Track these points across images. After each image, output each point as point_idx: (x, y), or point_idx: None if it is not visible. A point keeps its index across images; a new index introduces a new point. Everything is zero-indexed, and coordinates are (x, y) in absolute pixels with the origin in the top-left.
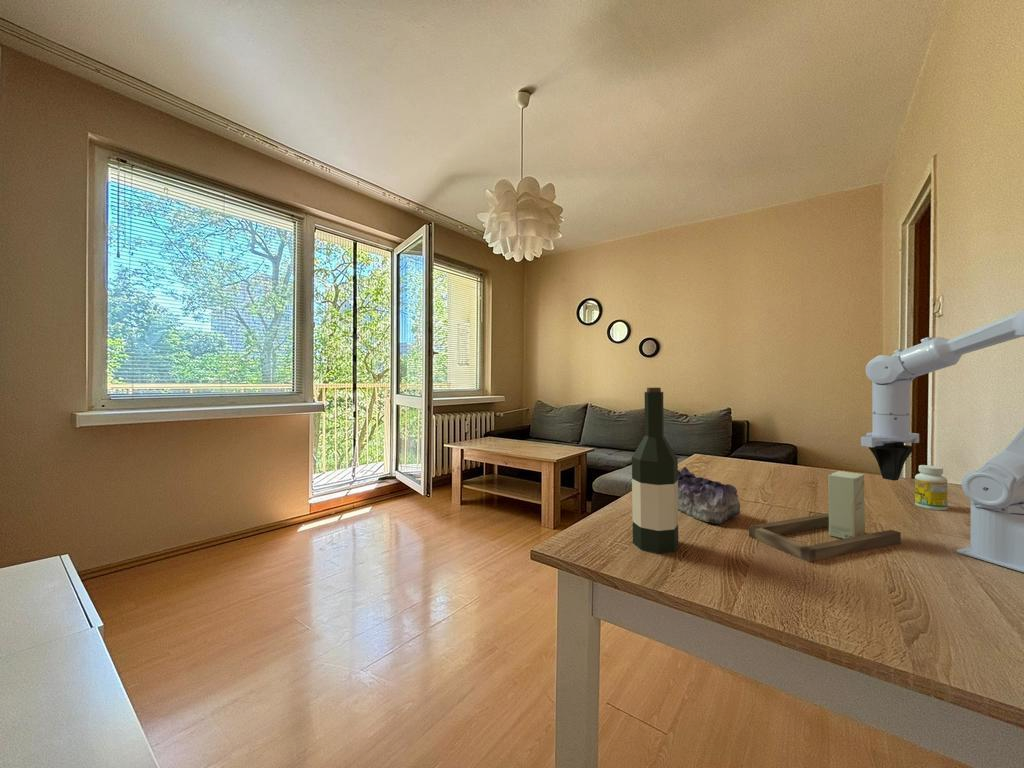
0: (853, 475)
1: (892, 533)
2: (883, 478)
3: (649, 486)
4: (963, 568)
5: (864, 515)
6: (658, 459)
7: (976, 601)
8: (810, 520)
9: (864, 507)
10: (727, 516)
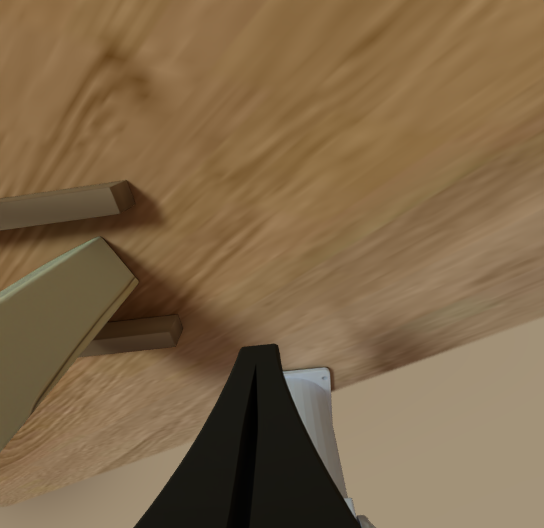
0: None
1: (149, 348)
2: (239, 352)
3: None
4: (188, 405)
5: (111, 316)
6: None
7: (108, 449)
8: None
9: (98, 332)
10: None
